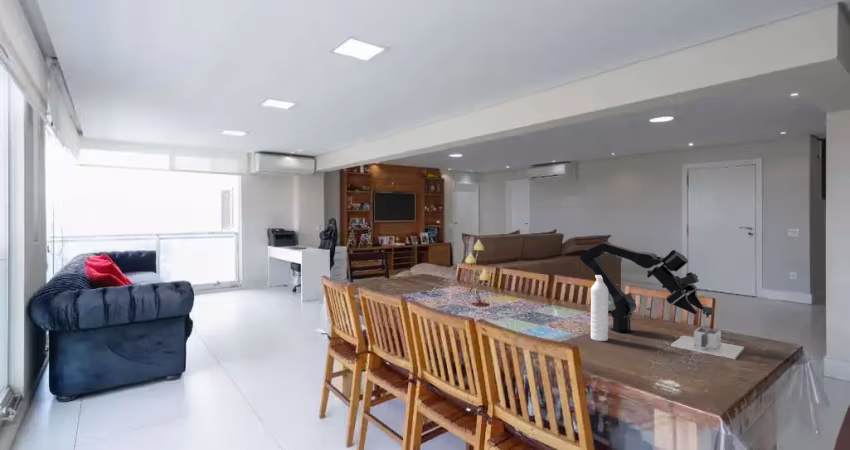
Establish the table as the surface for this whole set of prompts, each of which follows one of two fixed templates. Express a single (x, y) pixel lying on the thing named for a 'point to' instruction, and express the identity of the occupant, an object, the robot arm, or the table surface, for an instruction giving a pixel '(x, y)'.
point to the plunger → (707, 316)
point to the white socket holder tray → (708, 344)
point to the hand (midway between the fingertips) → (699, 311)
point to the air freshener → (610, 303)
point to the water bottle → (599, 310)
